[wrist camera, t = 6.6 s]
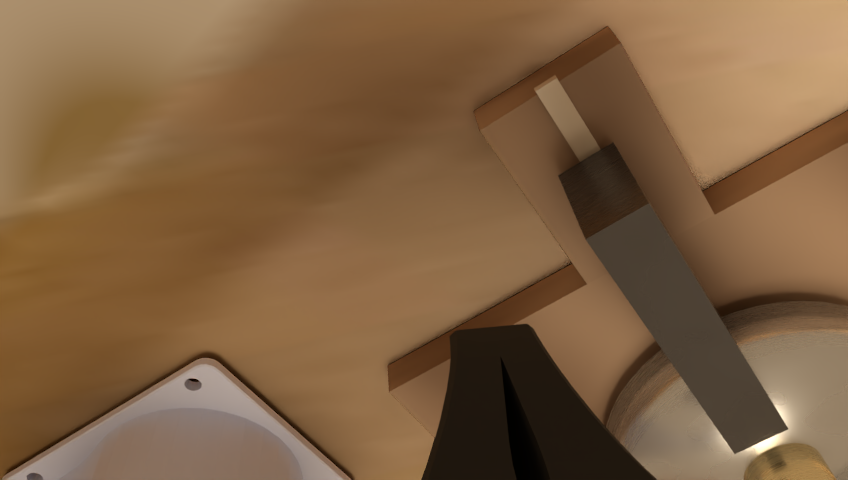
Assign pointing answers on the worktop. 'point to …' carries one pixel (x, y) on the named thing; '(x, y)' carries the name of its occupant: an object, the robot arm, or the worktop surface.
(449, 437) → the robot arm
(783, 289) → the walnut stand
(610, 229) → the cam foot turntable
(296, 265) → the worktop surface
